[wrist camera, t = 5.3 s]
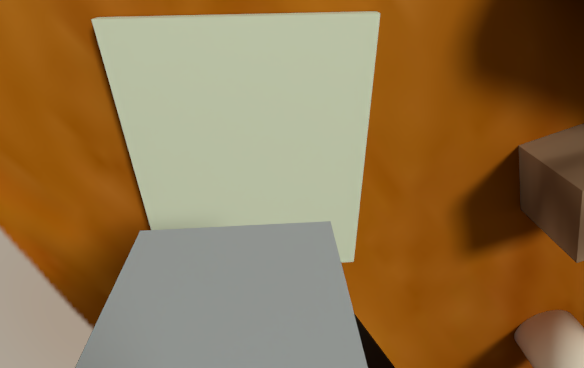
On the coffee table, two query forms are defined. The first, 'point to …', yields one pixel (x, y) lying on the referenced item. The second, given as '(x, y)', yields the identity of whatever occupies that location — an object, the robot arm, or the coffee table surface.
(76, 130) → the coffee table surface
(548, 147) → the walnut cube
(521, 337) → the ivory rounded cylinder
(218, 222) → the felt mat
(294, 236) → the slate-blue block
